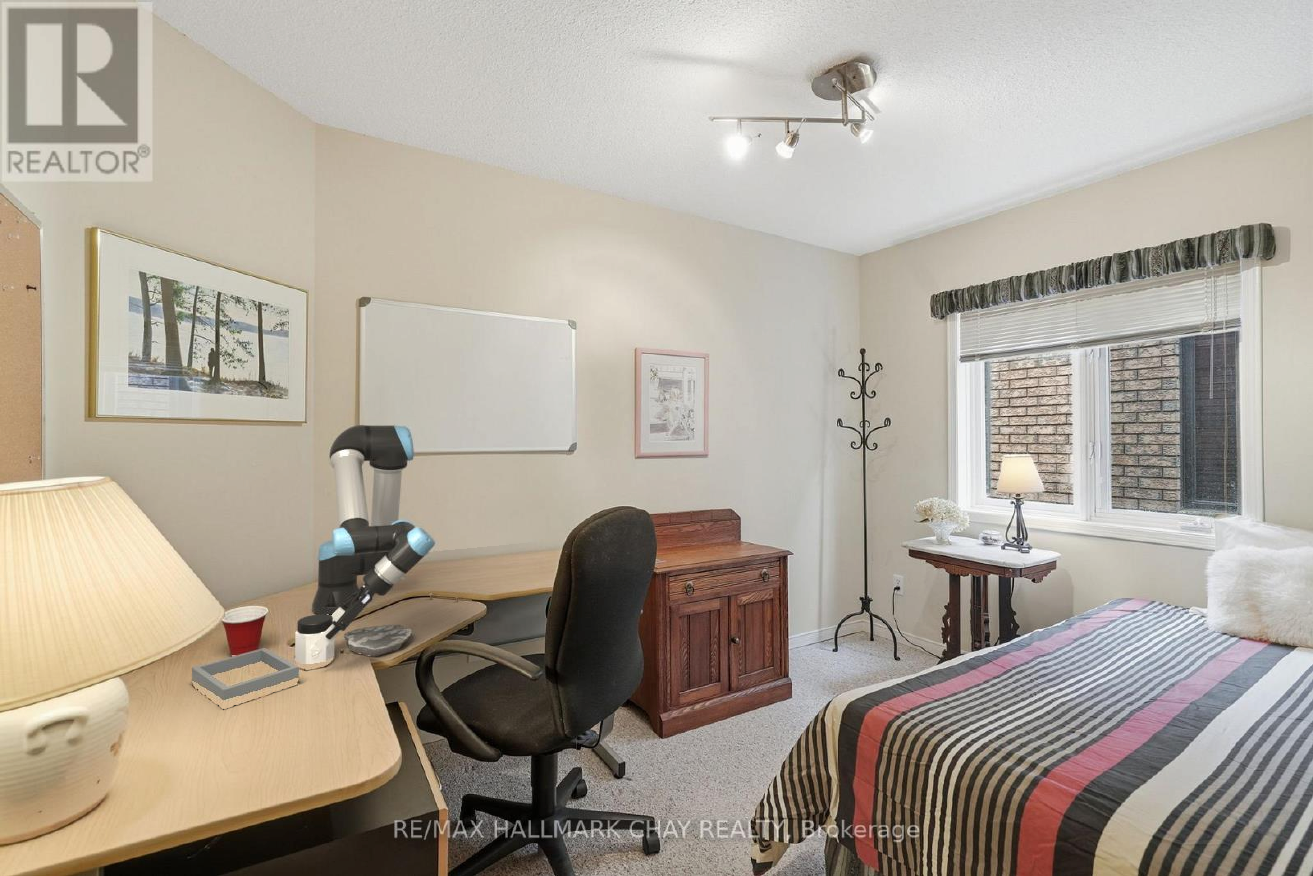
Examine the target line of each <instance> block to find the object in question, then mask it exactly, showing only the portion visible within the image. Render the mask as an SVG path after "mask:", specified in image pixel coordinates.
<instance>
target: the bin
mask: <svg viewBox="0 0 1313 876" xmlns="http://www.w3.org/2000/svg"><path fill="white" fill-rule="evenodd" d="M260 661H262V662H264V663H265V664H268V665H269V666H270V667H272V668H274V669H276V670H278V671H277V672H274V673H271V674H267V675H264V676H261V677H258V678H254V679H251V680H248V681H245V682H241V683H238V684H235V685H232V686H229V687H227V686H226V685H225V684H223V683H222V682H220V681H219V680H217V679H216V678H214V677H213V676H212V675H215V674H217V673H222V672H226V671H229V670H232V669H235V668H241V667H243V666H246V665H249V664H255V663H257V662H260ZM294 678H299V679H300V668H299V667H298V666H297V665H295V663H293V662H291V661H289V660H288V659H285V658H284V657H282V656H280V655H279V654H276V653H275V652H273V651H271V650H269V649H268V648H266V647H263V648H258V650H255V651H251V652H247V653H244V654H240V655H236V656H233V657H232V656H229V657H227V658H226V657H225V658H223V659H218V660H214V661H212V662H208V663H204V664H201V665H197V666H194V667H191V682H192V681H194V682H196V683H198V684H199V685H200V686H202V687H204V688H206V689H207V690H209V691H211V692H213V693H214V694H215V695H216V696H219V697H220V698H221V699H222V700H226V699H229V698H233V697H236V696H242V695H244V694H248V693H250V692H253V691H258V690H261V689H263V688H266V687H271V686H274V685H277V684H280V683H281V682H286V681H289V680H292V679H294Z"/></svg>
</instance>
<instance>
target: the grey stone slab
mask: <svg viewBox="0 0 1313 876" xmlns="http://www.w3.org/2000/svg"><path fill="white" fill-rule="evenodd" d="M412 633H413V631H412V628H404V627H403V625H400V624H393V625H391V624H387V625H386V624H385V625H376V626H370V627H362V628H357V629H353V630H351V631H347V632H346V633H344V635H343V637H344V638H343V639H344V640H345V641H346V643H347V644H348V648H349V650H350V651H351V652H353V653H355V654H356V653H361V654H364V656H365V655H370V656H369V657H371V656H377V657H380V656H379V655H381V656H383V655H386V654H389V652H390V653H392V652H391V651H395V652H397V651H398V650H400V649H401V648H400V647H402V645H403V644H404V643H405V642H406V641H408V640H409V638H410V636H411V635H412ZM399 648H400V649H399ZM396 650H397V651H396ZM385 653H386V654H385ZM382 654H383V655H382Z"/></svg>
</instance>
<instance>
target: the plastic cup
mask: <svg viewBox="0 0 1313 876" xmlns="http://www.w3.org/2000/svg"><path fill="white" fill-rule="evenodd" d="M267 614H269V609H268V608H267V607H266V606H261V605H246V606H241V607H240V606H239V607H237V608H232V609H229V610H227V611H225V617H224V618H223V619H222V620H220V621H221V622H222V625H223V627H224V630H225V635H226V639H227V644H228V648H229V654H230V656H231V655H240V654H244V653H247V652H251V651H255V650H258V649H259V647H260V642H261V640H262V639H261V637H262V634H263V633H262V632H263V627H264V623H265V620H266V616H267Z"/></svg>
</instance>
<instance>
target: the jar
mask: <svg viewBox="0 0 1313 876" xmlns="http://www.w3.org/2000/svg"><path fill="white" fill-rule="evenodd" d="M332 622H333V617H332V616H331V615H327V614H312V615H308V616H304V617H301V618H299V619H298V620H297V627H296V631H295V632H294V633H295V634H294V637H295V640H294V641H295V643H294V645H295V646H294V648H295V649H294V650H295V651H294V652H295V653H294V660H295V661H296V662H299V663H301V664H314V663H320V662H326V661H327V660H328V659H330V658H332V657H333V656H334V657H335V638H334V639H333V640H332V641H331V642H330V643H329V644H328V645H327V646H326V647H325V648H324V649H323V650H322V651H321V650H320V649H319V648H317V647H316V646H315V645H313V643H314V642H315V641H316V640H317V639H318V638H319V637H320V636H321V635H322V634H323V633H324V632H325V631H326V630H327V629H328V628H329V627H330V626H331V625H332ZM295 661H294V662H295Z"/></svg>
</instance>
